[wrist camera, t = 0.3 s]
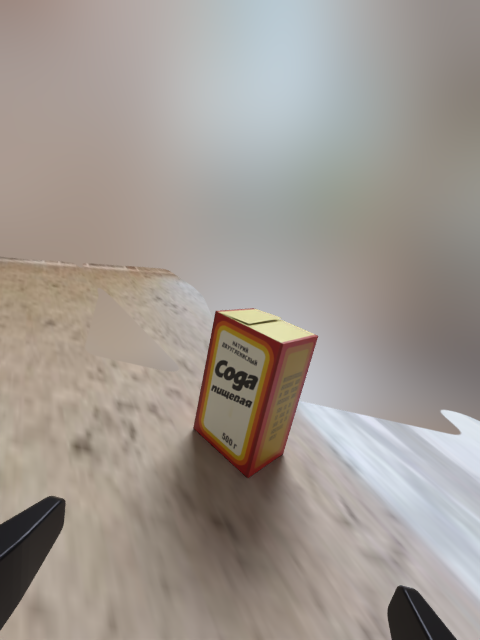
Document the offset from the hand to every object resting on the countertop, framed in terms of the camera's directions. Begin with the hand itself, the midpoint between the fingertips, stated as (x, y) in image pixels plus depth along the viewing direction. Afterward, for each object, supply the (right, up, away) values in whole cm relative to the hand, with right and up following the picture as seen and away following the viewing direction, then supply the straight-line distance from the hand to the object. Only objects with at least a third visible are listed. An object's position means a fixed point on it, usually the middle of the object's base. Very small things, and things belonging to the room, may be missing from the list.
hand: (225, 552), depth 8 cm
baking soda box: (0, -9, +29) cm, 31 cm away
